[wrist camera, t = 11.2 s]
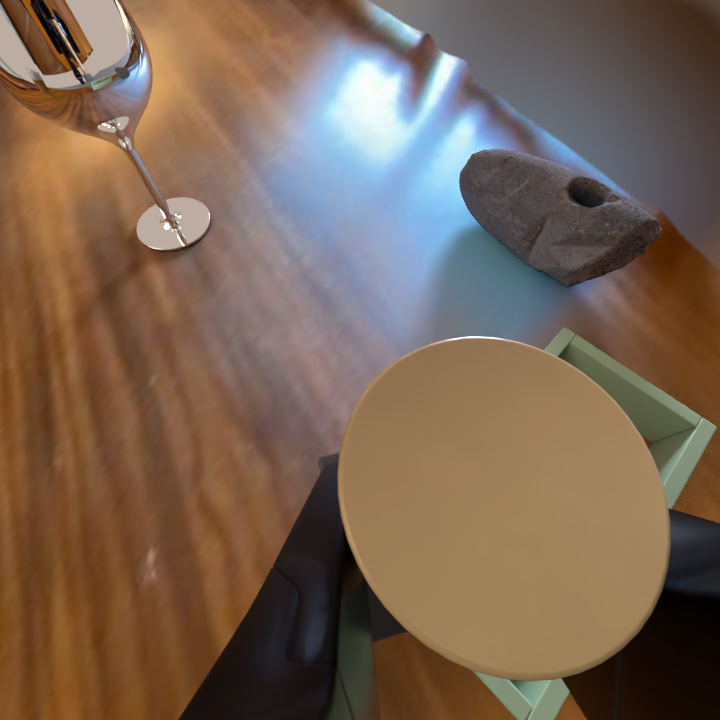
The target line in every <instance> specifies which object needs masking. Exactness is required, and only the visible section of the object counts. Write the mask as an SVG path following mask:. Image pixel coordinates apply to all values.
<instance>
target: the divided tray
mask: <svg viewBox="0 0 720 720" xmlns="http://www.w3.org/2000/svg"><path fill="white" fill-rule="evenodd" d="M543 350H544V351H546V352H549V353H551V354H553V355H555V356H556V357H558V358H560V359H562V360H564V361H566V362H568V363H569V364H571V365H572V366H574V367H575V368H577V369H578V370H580V371H582V372H583V373H584V374H586V375H587V376H588V377H589V378H591V379H592V380H593V381H594V382H596V383H597V384H598V385H599V386H600V387H601V388H602V389H603V390H604V391H605V392H606V393H608V394H609V395H610V396H611V397H612V398H613V399H614V400H615V401H616V403H617V404H618V405H619V406H620V407H621V409H622V410H623V411H624V412H625V413H626V415H627V416H628V417H629V418H630V420H631V421H632V423H633V424H634V426H635V427H636V429H637V430H638V432H639V433H640V434H641V436H642V438H643V440H644V442H645V444H646V445H647V447H648V449H649V451H650V453H651V455H652V457H653V459H654V462H655V464H656V467H657V469H658V472H659V474H660V477H661V480H662V484H663V487H664V491H665V494H666V498H667V504H668V508H669V509H672V508H673V506H674V504H675V502H676V501H677V499H678V497H679V495H680V493H681V492H682V490H683V488H684V486H685V484H686V483H687V481H688V479H689V477H690V475H691V474H692V472H693V470H694V468H695V466H696V465H697V463H698V461H699V459H700V457H701V456H702V454H703V452H704V450H705V448H706V447H707V445H708V443H709V441H710V439H711V438H712V436H713V434H714V432H715V430H716V429H717V427H716V426H715V425H713V424H712V423H710V422H709V421H707V420H706V419H704V418H701V416H699V415H698V414H696V413H695V412H693V411H692V410H690V409H689V408H687V407H686V406H684V405H683V404H681V403H680V402H678V401H677V400H675V399H674V398H672V397H671V396H669V395H668V394H666V393H665V392H663V391H662V390H660V389H658V388H657V387H655V386H654V385H652V384H651V383H649V382H648V381H646V380H645V379H643V378H642V377H640V376H639V375H637V374H636V373H634V372H633V371H631V370H630V369H628V368H627V367H625V366H624V365H622V364H621V363H619V362H618V361H616V360H615V359H613V358H611V357H610V356H608V355H607V354H605V353H604V352H602V351H601V350H599V349H598V348H596V347H595V346H593V345H592V344H590V343H589V342H587V341H586V340H584V339H583V338H581V337H580V336H578V335H576V334H575V333H574V332H572V331H571V330H569V329H568V328H566V327H564V328H563V329H562V330H561V331H560V332H559V333H558V334H557V335H556V336H555V337H554V339H553V340H552V341H551V342H550V343H549V344H548V345H547V346H546V347H545V348H544V349H543ZM472 671H473V670H472ZM473 672H474V673H475V674H476V675H477V676H478V677H479V679H480V680H481V681H482V682H483V683H484V684H485V685H486V686H487V687H488V688H489V690H490V691H491V692H492V693H493V694H494V695H495V696H496V697H497V698H498V699H499V701H500V702H501V703H502V704H503V705H504V706H505V707H506V708H507V709H508V710H509V712H510V713H511V714H512V715H513V716H514V717H515V718H516V719H517V720H555V718H556V716H557V715H558V713H559V711H560V709H561V707H562V706H563V704H564V702H565V700H566V698H567V697H568V695H569V693H570V691H569V690H568V688H567V687H566V685H565V683H564V682H563V680H562V679H561V678H559V679H555V680H543V681H519V680H510V679H501V678H497V677H494V676H490V675H486V674H482V673H479V672H475V671H473Z"/></svg>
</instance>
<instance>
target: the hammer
mask: <svg viewBox="0 0 720 720" xmlns="http://www.w3.org/2000/svg"><path fill="white" fill-rule="evenodd" d="M338 460H339V463H338V498H339V505H340V512H341V518H342V522H343V525H344V529H345V533H346V536H347V540H348V543H349V545H350V548H351V550H352V552H353V555H354V557H355V560H356V562H357V565H358V566H359V568H360V570H361V572H362V573H363V575H364V577H365V579H366V582H367V592H368V601H369V611H370V621H371V631H372V641H373V642H376V641H379V640H382V639H385V638H389V637H392V636H395V635H398V634H401V633H405V632H408V631H409V632H410V633H411V634H412V635H413V636H415V637H416V638H417V639H418V640H420V641H421V642H422V643H423V644H424V645H426V646H427V647H429V648H430V649H432V650H434V651H435V652H437V653H438V654H440V655H442V656H443V657H445V658H447V659H448V660H450V661H452V662H454V663H457V664H459V665H461V666H464V667H466V668H468V669H470V670H473V671H475V672H479V673H482V674H486V675H490V676H494V677H497V678H501V679H510V680H519V681H543V680H555V679H559V678H563V677H567V676H572V675H576V674H579V673H581V672H584V671H586V670H588V669H590V668H592V667H595V666H597V665H599V664H601V663H603V662H604V661H606V660H607V659H609V658H610V657H611V656H613V655H614V654H616V653H617V652H619V651H620V650H622V649H623V648H624V647H625V646H626V645H627V644H628V643H629V642H630V641H631V640H632V639H633V638H634V637H635V636H636V635H637V634H638V633H639V631H640V630H641V628H642V627H643V625H644V624H645V623H646V621H647V620H648V618H649V617H650V615H651V614H652V612H653V610H654V608H655V605H656V603H657V601H658V599H659V597H660V594H661V592H662V589H663V586H664V582H665V578H666V575H667V571H668V565H669V557H670V548H671V532H670V517H669V510H668V504H667V498H666V494H665V491H664V487H663V484H662V480H661V477H660V474H659V472H658V469H657V467H656V464H655V462H654V459H653V457H652V455H651V453H650V451H649V449H648V447H647V445H646V444H645V442H644V440H643V438H642V436H641V434H640V433H639V432H638V430H637V429H636V427H635V426H634V424H633V423H632V421H631V420H630V418H629V417H628V416H627V415H626V413H625V412H624V411H623V410H622V409H621V407H620V406H619V405H618V404H617V403H616V401H615V400H614V399H613V398H612V397H611V396H610V395H609V394H608V393H606V392H605V391H604V390H603V389H602V388H601V387H600V386H599V385H598V384H597V383H596V382H594V381H593V380H592V379H591V378H589V377H588V376H587V375H586V374H584V373H583V372H582V371H580V370H578V369H577V368H575V367H574V366H572V365H571V364H569V363H568V362H566V361H564V360H562V359H560V358H558V357H556V356H555V355H553V354H551V353H549V352H546V351H544V350H541V349H539V348H536V347H534V346H531V345H528V344H524V343H521V342H517V341H514V340H508V339H502V338H496V337H482V336H472V337H458V338H452V339H446V340H441V341H438V342H435V343H431V344H428V345H425V346H423V347H421V348H419V349H416V350H414V351H412V352H410V353H408V354H406V355H405V356H403V357H401V358H400V359H398V360H396V361H395V362H394V363H392V364H391V365H390V366H389V367H387V368H386V369H385V370H384V371H382V373H381V374H380V375H379V376H378V377H377V378H376V379H375V380H374V381H373V382H372V383H371V384H370V385H369V387H368V388H367V389H366V391H365V392H364V394H363V395H362V396H361V398H360V399H359V401H358V403H357V405H356V407H355V408H354V410H353V412H352V414H351V416H350V419H349V422H348V424H347V427H346V429H345V432H344V436H343V440H342V444H341V449H340V452H338V453H334V454H331V455H327V456H323V457H320V458H319V460H318V461H319V466H320V471H321V472H322V470H323V468H324V466H325V464H327V463H330V462H334V461H338Z"/></svg>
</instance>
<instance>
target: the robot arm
mask: <svg viewBox="0 0 720 720" xmlns="http://www.w3.org/2000/svg"><path fill="white" fill-rule="evenodd" d="M338 463H339V460H338V461H334V462H330V463H327V464H325V466H324V468H323V470H322V472H321V474H320V475H319V477H318V479H317V481H316V483H315V485H314V487H313V489H312V491H311V493H310V495H309V497H308V499H307V501H306V503H305V505H304V507H303V508H302V510H301V512H300V514H299V516H298V518H297V520H296V522H295V524H294V526H293V528H292V530H291V532H290V534H289V536H288V538H287V539H286V541H285V543H284V545H283V547H282V549H281V551H280V553H279V555H278V557H277V559H276V561H275V563H274V565H273V568H271V570H270V572H269V574H268V576H267V578H266V580H265V582H264V584H263V586H262V587H261V589H260V591H259V593H258V595H257V596H256V598H255V600H254V602H253V604H252V605H251V607H250V609H249V611H248V612H247V614H246V615H245V617H244V619H243V620H242V622H241V623H240V625H239V627H238V628H237V630H236V631H235V633H234V635H233V636H232V638H231V639H230V641H229V642H228V644H227V646H226V647H225V649H224V650H223V652H222V653H221V655H220V656H219V658H218V659H217V661H216V662H215V664H214V666H213V667H212V669H211V670H210V672H209V673H208V675H207V676H206V678H205V679H204V681H203V682H202V684H201V686H200V687H199V689H198V690H197V692H196V693H195V695H194V696H193V698H192V699H191V701H190V702H189V704H188V706H187V707H186V709H185V710H184V712H183V713H182V715H181V716H180V718H179V719H178V720H380V711H379V701H378V691H377V681H376V671H375V661H374V651H373V641H372V631H371V621H370V611H369V601H368V592H367V582H366V579H365V577H364V575H363V573H362V572H361V570H360V568H359V566H358V565H357V562H356V560H355V557H354V555H353V552H352V550H351V548H350V545H349V543H348V540H347V536H346V533H345V529H344V525H343V522H342V518H341V512H340V505H339V498H338ZM668 510H669V517H670V532H671V548H670V557H669V565H668V571H667V575H666V578H665V582H664V586H663V589H662V592H661V594H660V597H659V599H658V601H657V603H656V605H655V608H654V610H653V612H652V614H651V615H650V617H649V618H648V620H647V621H646V623H645V624H644V625H643V627H642V628H641V630H640V631H639V633H638V634H637V635H636V636H635V637H634V638H633V639H632V640H631V641H630V642H629V643H628V644H627V645H626V646H625V647H624V648H623V649H622V650H620V651H619V652H617V653H616V654H614V655H613V656H611V657H610V658H609V659H607V660H606V661H604V662H603V663H601V664H599V665H597V666H595V667H592V668H590V669H588V670H586V671H584V672H581V673H579V674H576V675H572V676H567V677H563V678H561V679H562V680H563V682H564V683H565V685H566V687H567V688H568V690H569V691H570V693H571V695H572V696H573V698H574V699H575V701H576V703H577V704H578V706H579V707H580V709H581V711H582V712H583V714H584V715H585V717H586V719H587V720H720V523H716V522H713V521H709V520H706V519H703V518H699V517H696V516H693V515H689V514H686V513H683V512H679V511H676V510H673V509H669V508H668Z"/></svg>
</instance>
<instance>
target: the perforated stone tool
mask: <svg viewBox="0 0 720 720" xmlns="http://www.w3.org/2000/svg"><path fill="white" fill-rule="evenodd" d="M459 181H460V182H459V183H460V191H461V194H462V197H463V200H464V202H465V204H466V206H467V208H468V210H469V211H470V213H471V214H472V216H473V217H474V218H475V219H476V221H477V222H478V223H479V224H480V225H481V226H482V227H483V228H484V229H485V230H486V231H487V232H489V233H490V234H491V235H492V236H494V237H496V238H497V239H498V240H499V242H500V243H501V244H502V245H504V246H505V247H507V248H508V249H509V250H510V251H511V252H513V253H514V254H515V255H516V256H517V257H519V258H520V259H521V260H522V261H523V262H525V263H526V264H528V265H529V266H531V267H533V268H534V269H536V270H537V271H539V272H545V273H547V274H548V275H549V276H551V277H552V278H554V279H556V280H558V281H560V283H561V284H562V285H564V286H566V287H570V286H573V285H575V284H579V283H582V282H584V281H586V280H590V279H593V278H597V277H600V276H603V275H605V274H606V273H609V272H612V271H614V270H616V269H620V268H622V267H624V266H625V265H627V264H628V263H630V262H631V261H632V260H634V258H636V257H638V256H640V255H643V254H645V253H646V251H645V248H646V247H648V246H649V245H650V244H651V243H652V242H653V241H655V240H656V239H657V238H658V237H660V235H661V233H662V232H663V230H662V229H661V227H660V224H659V221H658V220H657V219H656V218H654V217H653V216H652V215H650V214H649V213H647V212H646V211H645V210H644V209H642V208H640V207H639V206H637V205H635V204H633V203H632V202H631V201H629V200H628V199H627V198H625V197H624V196H622V195H621V194H619V193H618V192H616V191H614V190H613V189H611V188H609V187H608V186H606V185H604V184H602V183H601V182H599V181H597V180H595V179H593V178H590V177H588V176H586V175H585V174H582V173H579V172H577V171H574V170H572V169H570V168H567V167H565V166H562V165H559V164H557V163H554V162H551V161H547V160H544V159H542V158H539V157H536V156H533V155H529V154H525V153H521V152H517V151H511V150H504V149H491V150H484V151H483V150H482V151H480V152H477V153H474V154H472V156H471V157H470V159H469V160H468V161H467V164H466V165H465V166H464V168H463V169H462V171H461V173H460V179H459Z"/></svg>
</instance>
